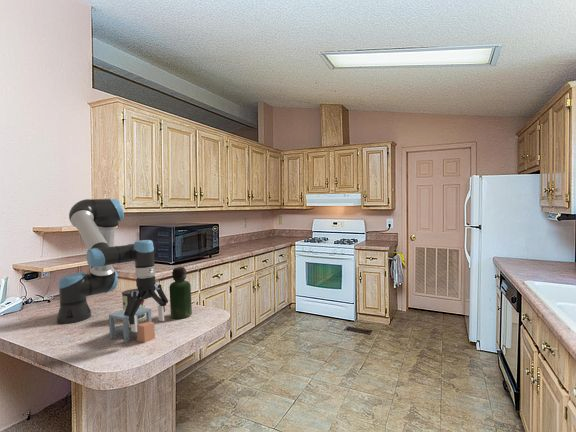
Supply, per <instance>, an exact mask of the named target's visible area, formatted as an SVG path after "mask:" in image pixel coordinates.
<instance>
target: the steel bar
mask: <svg viewBox="0 0 576 432" xmlns="http://www.w3.org/2000/svg"><path fill="white" fill-rule="evenodd" d="M115 335H119V336H123V337H124V335H123V324H119V325H115ZM129 339H131V340H135V341H137V332H133V331H131V326H129Z"/></svg>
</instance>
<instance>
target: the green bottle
mask: <svg viewBox="0 0 576 432" xmlns="http://www.w3.org/2000/svg"><path fill="white" fill-rule="evenodd" d="M171 273H172V278H173V280H174V281H173V282H172V283H170V284H169V287H168V291H169V303H170V304H169V306H170V317H171V318H172V319H175V320H177V319H179V320H181V319H185V318H188V317H190V316H191V315H193V312H192V311H193V310H192V292H191V290H192V288H191V286H192V285H191V283H190V282H189V281H188V280H186V279H187V270H186V268H185V267H183V266H177V267H174V268H173V269H172V272H171Z"/></svg>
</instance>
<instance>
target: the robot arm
mask: <svg viewBox="0 0 576 432" xmlns="http://www.w3.org/2000/svg"><path fill="white" fill-rule="evenodd" d="M124 217H125V214H124V207H123V205H122V202H120V200H119V199H117V198H116V199H115V198H114V199H112V198H99V199H98V198H94V199H93V198H92V199H91V198H86V199H82V200H80V201H78V202H76V203H74V205H72V207H71V208H70V210H69V213H68V219H69V222H70V223H71V225H72V226H73V227H75V228H76V230H77V231H78V233H79V234H80V236H81V239H82V241H83V242H84V244H85V246H86V247H87V249H88V250H86V253H85V254H86V256H85V257H86V261H87V264H88V266H89V267H91V268H90V270H89V273H87V274H86V272H84V271H78V272H74V273H70V274H66V275H64V276H62V277H60V278H59V280H58V292H59V296H58V297H59V307H58V308H59V309H58V312H57V315H56V323H57V324H60V325H61V324H63V325H65V324H73V323H77V322H81V321H84V320H87V319H89V318H91V317H92V310H91V309H90V306H89V304H88V302H87V301H88V300H87V297H89V296H94V295H99V294H104V293H105V294H106V293H109V292H112V291H115V289H116V288H117V287H118V283H119V278H118V277H119V275H118V272H117V271H116V269H115V268H114V267H113V265H116V264H124V263H125V264H126V263H130V262H132V263H133V262H134V264H135V265H134V266H135V267H134V268H135V277H136V279H135V282H136V285H135V286H136V289H137V291H131V292H130V298H129V301H128V304H127V307H126V310H125V313H124V316H129V322H128V324H129V325H130V327H131V331H133V332H137V317H136V316H135V313H136V312H137V310H138V308H139V306H140V304H141V303H142V301H144V302H145V300H147V299H151V298H152V299H153V300H154V301H155V302H156V303H157V304H158V305H157V311H158V312H157V313H158V321H161V322H165V312H166V309H165V306H167V304H168V303H169V300H168V298H167V296H166V294H165V292H164V290H163V288H162V284H159V283H158V284H156V275H155V274H156V269H155V247H154V243H153V242H154V241H153V240H151V239H143V240H136V241H135V242H134V243H129V244H125V245H115V246H114V244H115V232H116V228H117V227H118V226H119V222H122V221H124ZM137 294H138V296H137ZM136 296H137V298H136ZM135 300H136V301H135Z"/></svg>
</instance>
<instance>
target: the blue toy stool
mask: <svg viewBox="0 0 576 432" xmlns="http://www.w3.org/2000/svg"><path fill="white" fill-rule="evenodd" d="M125 310H126V309H125ZM125 310H123V309H121V310H119V311H116V312H112V313H110V314H108V323H109V339H111V340H113V339H116V334H115V327H116V322H115V319H117V320H121V321H122V325H123V335H124V336H123V342H124V343H128V342H130V338H129V327H130V326H129V325H130V324H129V322H128V319H129V316H124V313H125ZM144 313H145V319H146V320H145V321H149V322H153V321H152V308H148V307H145V308H143V307H139V308H138V310H137V312H136V313H135V316H136V317H137V324H139V320H138V316H139V315H141V314H144Z"/></svg>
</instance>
